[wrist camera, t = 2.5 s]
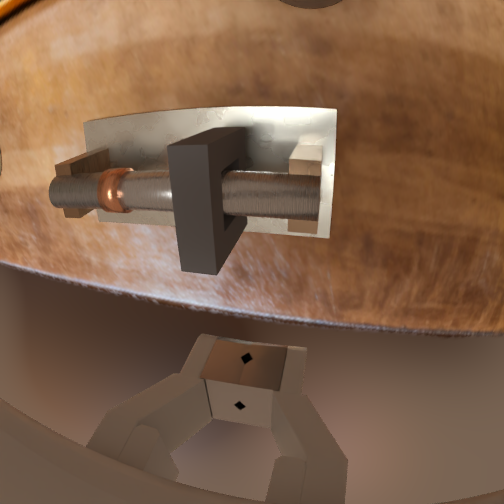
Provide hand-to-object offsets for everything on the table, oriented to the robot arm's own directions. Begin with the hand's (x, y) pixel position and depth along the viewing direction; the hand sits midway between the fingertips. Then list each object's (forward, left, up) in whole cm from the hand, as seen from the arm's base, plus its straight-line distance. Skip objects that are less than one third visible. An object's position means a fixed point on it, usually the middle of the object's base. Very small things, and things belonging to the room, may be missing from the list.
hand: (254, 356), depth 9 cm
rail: (+10, 0, -20) cm, 22 cm away
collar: (+6, 0, -18) cm, 19 cm away
